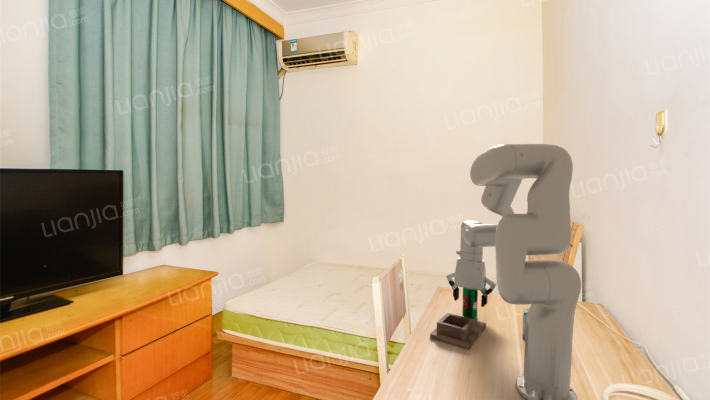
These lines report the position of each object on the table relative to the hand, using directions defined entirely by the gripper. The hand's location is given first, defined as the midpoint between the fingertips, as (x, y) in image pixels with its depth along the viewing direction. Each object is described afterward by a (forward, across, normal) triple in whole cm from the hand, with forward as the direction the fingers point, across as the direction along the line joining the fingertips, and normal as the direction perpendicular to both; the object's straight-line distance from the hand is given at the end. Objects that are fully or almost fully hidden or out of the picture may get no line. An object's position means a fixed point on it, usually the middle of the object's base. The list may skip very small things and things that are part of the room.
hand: (469, 302), depth 123 cm
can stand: (+5, +1, -14) cm, 15 cm away
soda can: (+6, 0, 0) cm, 6 cm away
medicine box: (+5, +22, -4) cm, 23 cm away
